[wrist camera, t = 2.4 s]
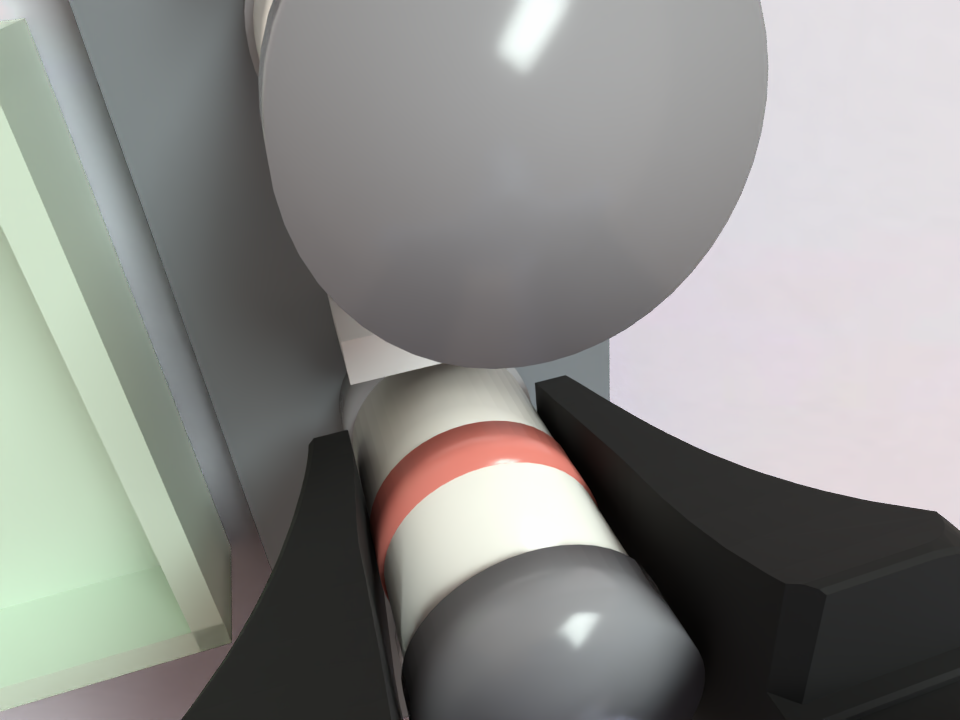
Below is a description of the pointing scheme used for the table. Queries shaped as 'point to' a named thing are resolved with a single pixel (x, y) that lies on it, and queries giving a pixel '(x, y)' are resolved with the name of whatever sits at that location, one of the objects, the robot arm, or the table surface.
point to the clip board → (242, 248)
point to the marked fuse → (505, 561)
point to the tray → (86, 434)
